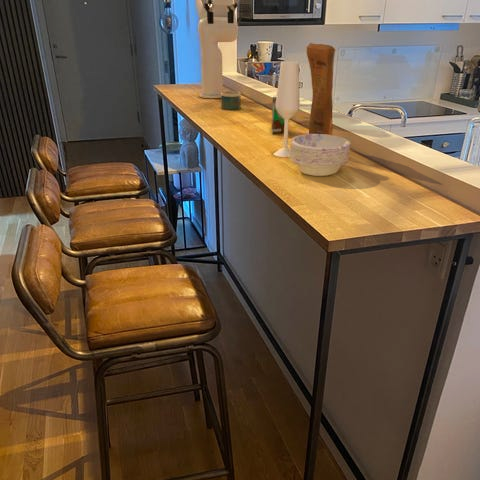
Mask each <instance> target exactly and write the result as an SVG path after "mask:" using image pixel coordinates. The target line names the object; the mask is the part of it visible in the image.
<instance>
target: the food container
mask: <svg viewBox="0 0 480 480" xmlns="http://www.w3.org/2000/svg"><path fill="white" fill-rule="evenodd" d="M276 97H277V96H272V102H271V103H272V105H271V107H272V108H271V132H272V133H271V134H272V135H281V134H284V124H285V119H284V118H283V117H282V116H281V115H280V114H279V113H278V111H277V110H276V107H275V105H276Z"/></svg>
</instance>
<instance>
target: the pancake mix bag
mask: <svg viewBox="0 0 480 480" xmlns="http://www.w3.org/2000/svg"><path fill="white" fill-rule="evenodd" d="M335 54H336V48H335V47H334V46H333V45H329V44H324V43H312V42H310V43H308V45H307V46H306V57H307V60H308V65H309V70H310V77H311V78H310V79H311V88H312V98H311V105H310V113H309V125H308V134H327V135H333V110H334V109H333V108H334V107H333V106H334V105H333V103H334V102H333V89H334V64H335Z"/></svg>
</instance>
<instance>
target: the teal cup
mask: <svg viewBox="0 0 480 480" xmlns="http://www.w3.org/2000/svg"><path fill="white" fill-rule="evenodd" d="M241 107H242V93H241V91H238V90H237V91H236V90H225V91H223V92H221V98H220V109H221V110H224V111H236V110H241V109H242V108H241Z"/></svg>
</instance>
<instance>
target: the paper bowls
mask: <svg viewBox="0 0 480 480" xmlns="http://www.w3.org/2000/svg"><path fill="white" fill-rule="evenodd" d="M289 144H290V145H289V146H290V147H289V149H290V157H289V161H290V162H291V163H294V164H295V165H296V167H297V170H298V171H299V172H301V173H302V174H305V175H307V176H312V177H313V176H314V177H328V176H333V175H334V174H337V172H338V171H339V170H340V168H341V166H344V165H346V164H347V163H348V162H349V159H350V158H349V157H350V152H351V141H350V140H349V139H347V138H345V137H342V136H339V135H334V134H332V135H327V134H309V133H307V134H300V135H296V136H294V137H292V138H291V140H290V143H289Z"/></svg>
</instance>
